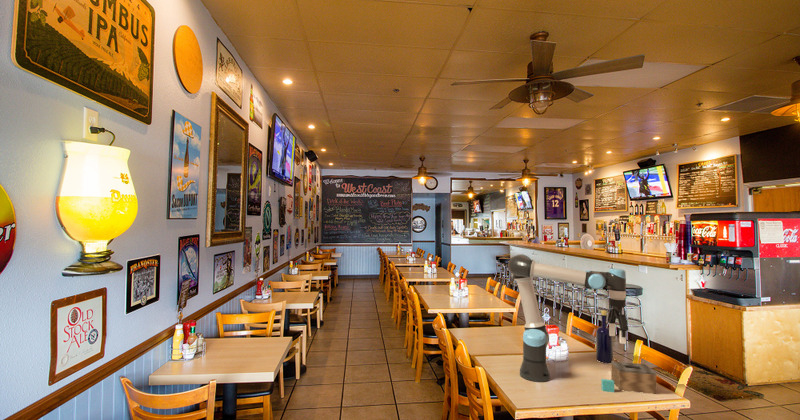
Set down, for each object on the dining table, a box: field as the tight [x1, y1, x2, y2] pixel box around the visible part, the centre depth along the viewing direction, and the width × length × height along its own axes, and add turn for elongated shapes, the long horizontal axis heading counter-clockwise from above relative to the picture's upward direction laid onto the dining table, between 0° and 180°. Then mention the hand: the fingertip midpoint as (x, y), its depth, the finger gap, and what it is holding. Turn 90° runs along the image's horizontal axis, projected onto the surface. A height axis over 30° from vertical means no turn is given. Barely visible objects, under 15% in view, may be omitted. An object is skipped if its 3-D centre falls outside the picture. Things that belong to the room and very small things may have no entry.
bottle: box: [595, 310, 614, 364], centre depth 222 cm, size 9×9×30 cm
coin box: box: [610, 360, 657, 395], centre depth 184 cm, size 16×12×10 cm
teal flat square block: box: [601, 378, 615, 393], centre depth 179 cm, size 5×2×5 cm, turn 77°
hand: (617, 339), depth 191 cm, fingers open, 13 cm apart
